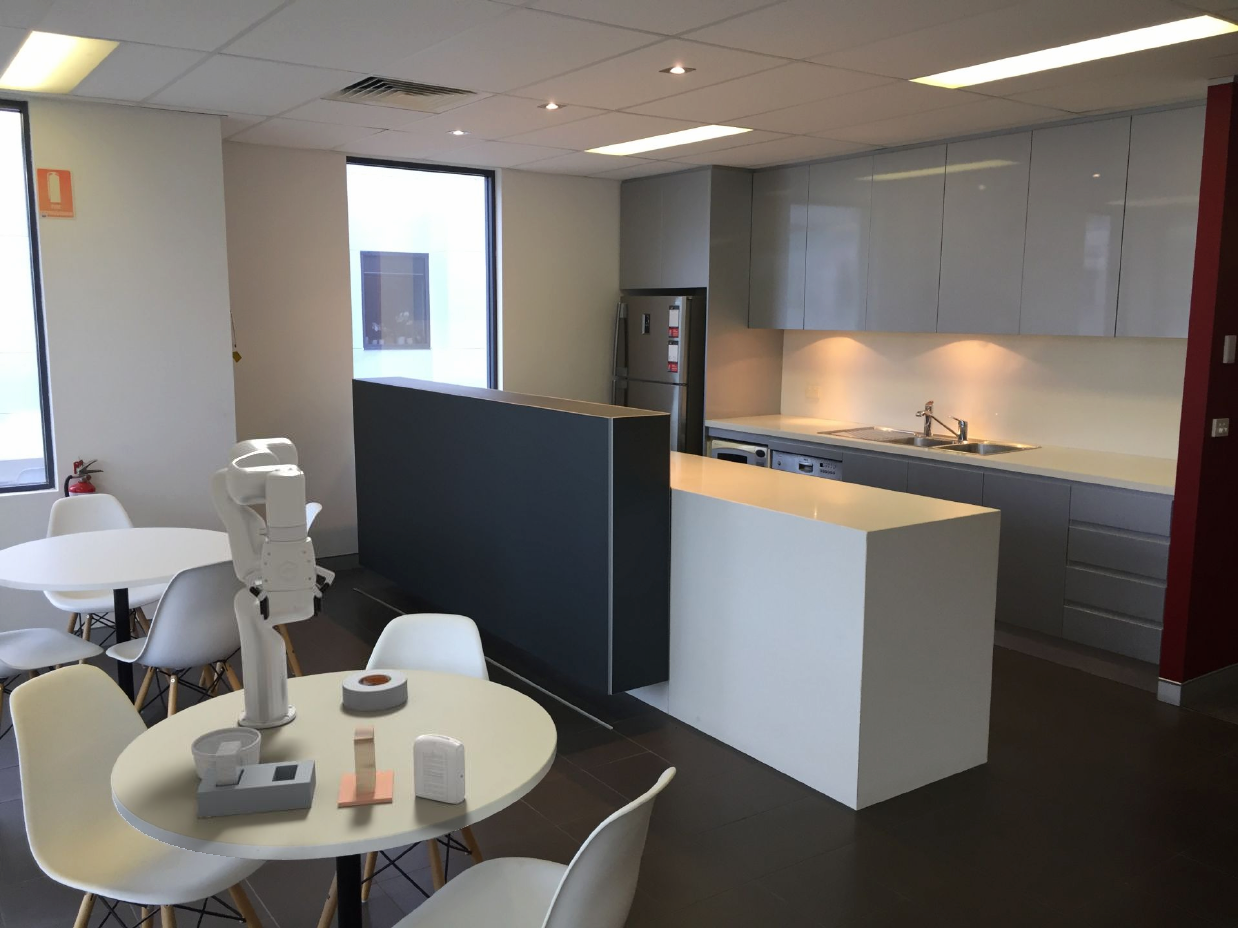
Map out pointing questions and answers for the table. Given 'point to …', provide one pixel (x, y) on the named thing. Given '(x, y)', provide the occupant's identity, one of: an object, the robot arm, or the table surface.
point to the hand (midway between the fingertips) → (291, 616)
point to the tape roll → (374, 690)
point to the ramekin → (210, 742)
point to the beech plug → (365, 759)
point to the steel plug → (229, 763)
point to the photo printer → (439, 768)
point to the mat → (380, 795)
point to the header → (259, 789)
